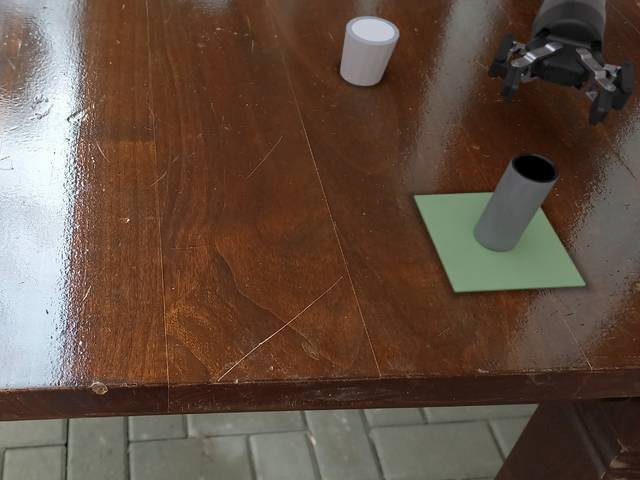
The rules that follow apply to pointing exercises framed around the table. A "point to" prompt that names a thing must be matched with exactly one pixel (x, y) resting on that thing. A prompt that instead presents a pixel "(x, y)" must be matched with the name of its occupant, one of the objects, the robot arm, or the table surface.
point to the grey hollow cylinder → (515, 201)
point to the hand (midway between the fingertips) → (553, 106)
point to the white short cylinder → (367, 49)
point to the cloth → (487, 265)
